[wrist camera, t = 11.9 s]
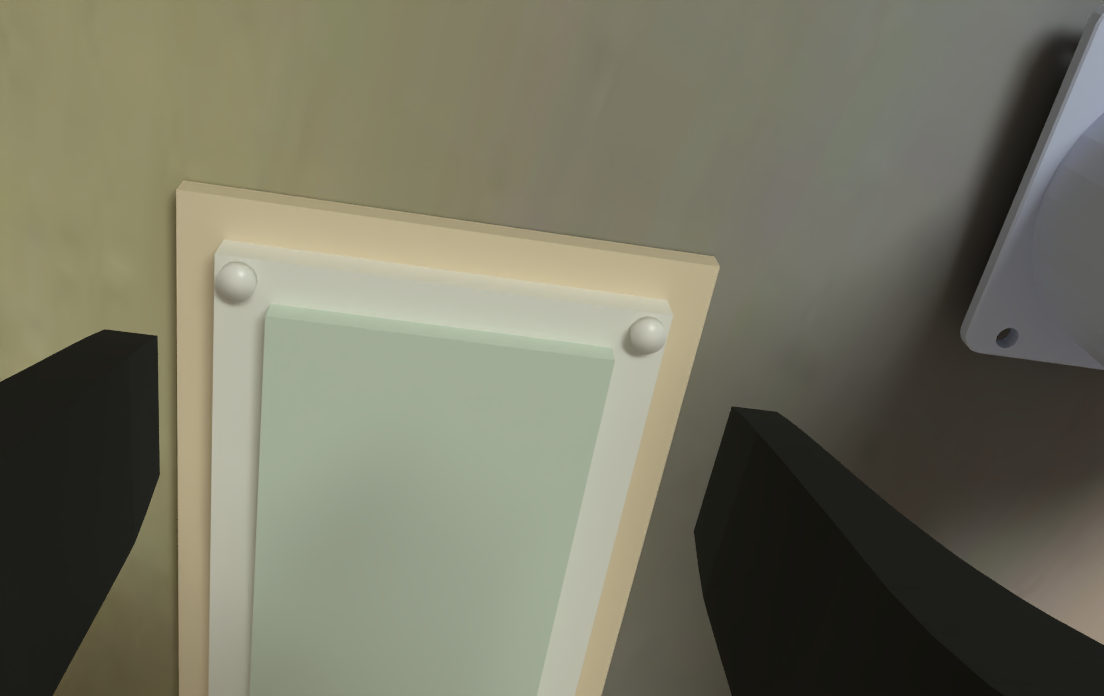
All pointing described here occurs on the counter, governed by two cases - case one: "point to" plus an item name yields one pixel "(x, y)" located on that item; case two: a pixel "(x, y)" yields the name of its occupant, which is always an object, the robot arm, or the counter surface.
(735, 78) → the counter surface
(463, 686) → the picture frame
